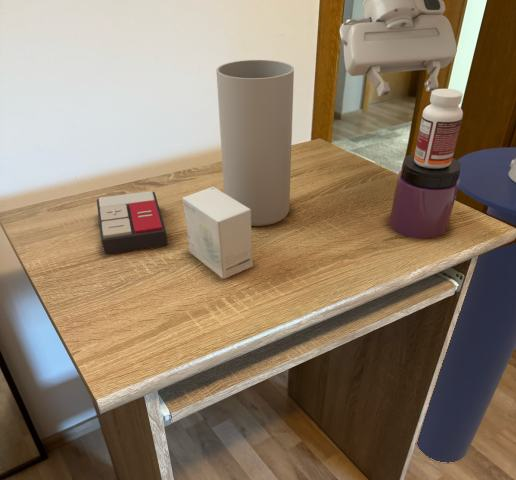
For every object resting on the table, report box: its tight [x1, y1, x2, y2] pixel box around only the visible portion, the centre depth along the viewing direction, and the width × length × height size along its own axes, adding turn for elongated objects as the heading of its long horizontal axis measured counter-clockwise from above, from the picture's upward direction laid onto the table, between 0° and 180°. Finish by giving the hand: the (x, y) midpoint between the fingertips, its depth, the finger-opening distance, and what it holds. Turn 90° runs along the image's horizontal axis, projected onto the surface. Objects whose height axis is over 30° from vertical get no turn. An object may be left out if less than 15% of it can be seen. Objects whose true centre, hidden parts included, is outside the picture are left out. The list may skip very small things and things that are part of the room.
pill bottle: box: [414, 88, 464, 169], centre depth 79 cm, size 6×6×11 cm
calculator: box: [96, 190, 168, 255], centre depth 89 cm, size 11×4×15 cm
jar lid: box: [400, 153, 461, 188], centre depth 84 cm, size 10×10×2 cm
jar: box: [389, 170, 460, 240], centre depth 87 cm, size 10×10×11 cm
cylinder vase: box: [215, 59, 295, 227], centre depth 87 cm, size 12×12×25 cm
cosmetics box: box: [182, 186, 254, 280], centre depth 79 cm, size 10×6×10 cm, turn 37°
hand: (408, 92), depth 85 cm, fingers open, 8 cm apart
